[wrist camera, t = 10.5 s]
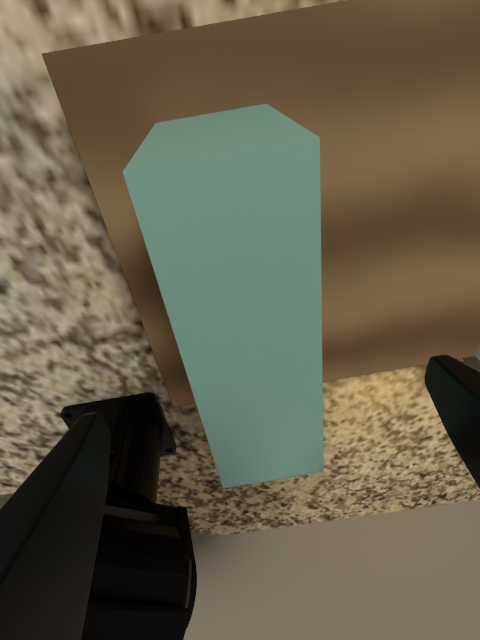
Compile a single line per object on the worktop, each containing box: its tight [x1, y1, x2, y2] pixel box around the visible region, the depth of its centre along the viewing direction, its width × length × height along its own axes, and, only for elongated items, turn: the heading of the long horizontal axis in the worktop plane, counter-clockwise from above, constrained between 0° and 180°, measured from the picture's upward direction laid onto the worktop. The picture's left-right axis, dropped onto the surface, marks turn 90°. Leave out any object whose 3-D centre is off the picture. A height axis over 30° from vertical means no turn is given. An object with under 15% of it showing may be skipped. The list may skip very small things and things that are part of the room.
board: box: [42, 0, 480, 407], centre depth 18 cm, size 17×18×3 cm
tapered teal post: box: [123, 104, 323, 488], centre depth 14 cm, size 12×4×7 cm, turn 8°
